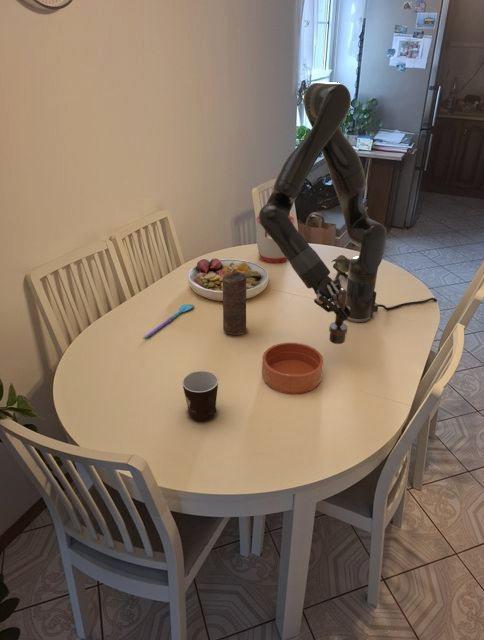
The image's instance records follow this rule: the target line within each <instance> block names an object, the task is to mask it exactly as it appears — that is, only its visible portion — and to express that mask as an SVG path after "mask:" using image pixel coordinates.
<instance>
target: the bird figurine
mask: <svg viewBox="0 0 484 640" xmlns="http://www.w3.org/2000/svg"><path fill="white" fill-rule="evenodd" d="M350 260H351V258H348V257H347V256H345V255H343V254H340V255H338V256H336V258H334V259H332V260H331V263H332V262H334V263H333V264H332V268H333V269H334V270H335V271H336V275H335V278H334V281H335V280H336V279H338V280H339V281H340V276H342V277H343V278H345V279H346V280H347V279H348V271H349V263H350Z"/></svg>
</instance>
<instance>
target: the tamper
mask: <svg viewBox="0 0 484 640" xmlns="http://www.w3.org/2000/svg"><path fill="white" fill-rule="evenodd" d="M346 295H347V292H346V288H342V289H340V290H339V292H338V301H337V302H338V304H339V305H340V307H341V308H342V309H343V310H344V311H345V303H346ZM348 327H349V326H348V325H347V323H346V322H344V321H343V322H342V321H341V320H340V319H339V318H338V316H337V315H336V314H335V318H334V321H333V322H330V324H329V327H328V331H329V342H331V343H332V344H335V345H341V344H344V343H345V342H346V335H347V333H348Z"/></svg>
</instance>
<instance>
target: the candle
mask: <svg viewBox="0 0 484 640" xmlns="http://www.w3.org/2000/svg"><path fill="white" fill-rule="evenodd" d="M222 321H223V322H222V323H223V324H222V329H223V332H224V333H225V334H229V335H232V336H237V335H243V334H245V333H246V332H247V299H246V274H245V273H243V272H228V273H225V274H224V276H223V301H222Z"/></svg>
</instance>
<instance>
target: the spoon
mask: <svg viewBox="0 0 484 640" xmlns="http://www.w3.org/2000/svg"><path fill="white" fill-rule="evenodd" d="M193 308H194V306H193V305H191V304H182V305H181V306H179V309H178V311H177V312H176V313H174V314H172V316H170V317H168V318H167V319H166V320H164V321H163V322H162V323H161V324H159V325H158V326H156V327H155V328H154V329H152V330H151V331H149V332H148V333H147V334H145V338H146V339H149V338H150V337H151V336H152V335H153V334H155V333H156V332H157V331H159V330H160V329H161V328H163V327H164V326H166V325H167V324H168V323H169V322H171V321H173V319H174V318H176V317H177V316H178V315H180V314H181V313H184V312H188V311H190V310H191V309H193Z"/></svg>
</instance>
